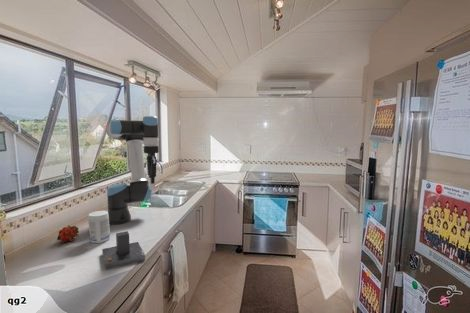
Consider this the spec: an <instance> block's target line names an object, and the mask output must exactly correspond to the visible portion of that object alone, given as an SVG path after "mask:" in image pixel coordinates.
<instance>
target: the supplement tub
mask: <svg viewBox="0 0 470 313" xmlns="http://www.w3.org/2000/svg"><path fill="white" fill-rule="evenodd" d="M87 218H88V221H87V222H88V230H89V231H88V232H89V242H91V244H100V243H102V244H103V243H105V242H107V241H109V239H110V238H111V233H110V232H111V231H110V230H111V229H110V224H109V215H108V210H96V211H92V212H90V213H89V214H88V216H87Z"/></svg>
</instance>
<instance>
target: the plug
mask: <svg viewBox="0 0 470 313" xmlns="http://www.w3.org/2000/svg"><path fill="white" fill-rule="evenodd" d="M115 238H116V239H115V240H116V246H117V254H118V255H121V254H126V253H130V246H129V244H130V233H129V231H128V230H127V231H121V232H116V233H115Z"/></svg>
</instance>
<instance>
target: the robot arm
mask: <svg viewBox="0 0 470 313" xmlns="http://www.w3.org/2000/svg"><path fill="white" fill-rule="evenodd" d="M105 132H106V135H107V136H108V137H109V138H111V139H113V140H117V141H125V143H126V144H127V145H128V151H129V153H128V154H129V161H130V172H131V174H130V175H131V181H129V185H128V183H124V182H123V183H116V184H113V185H110V186H108V187H107V189H106V190H107V192H106V196H107V211H108V215H109V225H121V224H125V223H129V222H130V221H131V220H132V214H131V213H130V210H129V208H128V207H129V204H136V203H142V202H147V201H150V199H151V196H152V190H156V177H157V163H158V159H157V156H156V154H158V153H159V152H160V150H159V147H160V146H158V145H159V141H160V139H159V122H158V117H157V116H155V115H154V116H151V115H147V116H146V115H144V116H142V120H129V119H128V120H126V119H123V120H122V119H111V120H110V122H109V125H108V126H106V131H105ZM143 145H144V146H143ZM144 154H147V156H146V165H147V166H146V167H147V175H148V178H149V179H147V178H146V172H145V171H146V170H145V161H144Z"/></svg>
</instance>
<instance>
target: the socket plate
mask: <svg viewBox="0 0 470 313" xmlns="http://www.w3.org/2000/svg"><path fill="white" fill-rule="evenodd" d="M129 246H130V253H126V254H121V255H118V254H117V245H116V246H111V247H106V248H102V250H101V251H102V259H103V264H104V269H105V270H110V269H113V268H114V269H115V268H118V267H122V266H126V265H131V264H134V263H139V262H143V261H145V260H146V254H145V252H144V250H143V249H142V247H141V245H140V243H139V242H138V241H134V242H129Z"/></svg>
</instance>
